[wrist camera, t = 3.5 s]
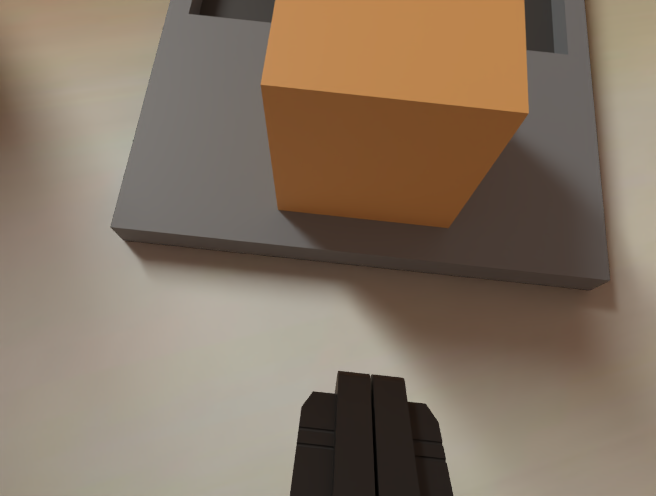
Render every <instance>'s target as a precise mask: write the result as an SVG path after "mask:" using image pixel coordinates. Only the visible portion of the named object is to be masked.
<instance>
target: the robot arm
mask: <svg viewBox="0 0 656 496" xmlns="http://www.w3.org/2000/svg"><path fill="white" fill-rule="evenodd" d="M445 460H446V458H445V453H444V448H443V446H442V438H441V433H440V428H439V423H438V421H437V419H436V418H435V417H434V415H433V414H432V412H431V411H430V409H429V408H428V407H427V405H426V404H423V403H414V402H407V395H406V387H405V381H404V378H400V377H391V376H382V375H373V374H372V375H371V378H370V375H369V374H362V373H353V372H344V371H338V374H337V381H336V388H335V394H332V393H323V392H314V391H313V392H312V394H311V395H310V396H309V398H308V399H307V400H306V402H305V403H304V404H303V406H302V408H301V416H300V423H299V431H298V438H297V446H296V454H295V461H294V469H293V476H292V484H291V491H290V496H453V492H452V487H451V482H450V477H449V472H448V467H447V463H446V462H445Z"/></svg>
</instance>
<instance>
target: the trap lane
mask: <svg viewBox="0 0 656 496" xmlns="http://www.w3.org/2000/svg"><path fill="white" fill-rule="evenodd" d="M274 5H275V0H170V4H169V8H168V12H167V15H166V19H165V23H164V27H163V30H162V34H161V38H160V42H159V45H158V49H157V53H156V57H155V61H154V64H153V68H152V72H151V76H150V79H149V83H148V87H147V91H146V94H145V98H144V102H143V106H142V110H141V113H140V117H139V121H138V125H137V128H136V132H135V136H134V140H133V144H132V147H131V151H130V155H129V159H128V162H127V166H126V170H125V174H124V177H123V181H122V185H121V189H120V193H119V196H118V200H117V204H116V208H115V211H114V215H113V219H112V223H111V226H110V227H111V228H112V229H113V230H114V231H115V232H116V233H117V234H118V235H119V236H120V237H121V238H122V239H123V240H126V241H135V242H145V243H154V244H163V245H173V246H182V247H192V248H201V249H210V250H220V251H229V252H238V253H248V254H257V255H267V256H276V257H285V258H295V259H304V260H313V261H323V262H332V263H342V264H351V265H360V266H370V267H379V268H388V269H398V270H407V271H417V272H426V273H435V274H445V275H454V276H463V277H473V278H482V279H491V280H501V281H510V282H520V283H529V284H538V285H548V286H557V287H566V288H576V289H585V290H591V289H594V288H596V287H598V286H600V285H602V284H604V283H606V282H608V281H610V274H609V263H608V252H607V241H606V230H605V219H604V209H603V198H602V187H601V176H600V165H599V154H598V143H597V133H596V122H595V111H594V100H593V89H592V78H591V67H590V57H589V46H588V35H587V24H586V13H585V2H584V0H524V5H525V30H526V55H527V80H528V104H529V114H528V115H527V117H526V118H525V120H524V121H523V122H522V124H521V125H520V127H519V128H518V130H517V131H516V132H515V134H514V135H513V137H512V138H511V140H510V141H509V142H508V144H507V145H506V147H505V148H504V150H503V151H502V152H501V154H500V155H499V157H498V158H497V160H496V161H495V162H494V164H493V165H492V167H491V168H490V170H489V171H488V172H487V174H486V175H485V177H484V178H483V180H482V181H481V182H480V184H479V185H478V187H477V188H476V190H475V191H474V192H473V194H472V195H471V197H470V198H469V200H468V201H467V202H466V204H465V205H464V207H463V208H462V210H461V211H460V212H459V214H458V215H457V217H456V218H455V220H454V221H453V223H452V224H451V225H450V227H449V228H442V227H433V226H424V225H414V224H405V223H396V222H386V221H377V220H368V219H358V218H349V217H339V216H330V215H321V214H311V213H302V212H293V211H283V210H278V207H277V200H276V192H275V185H274V178H273V171H272V164H271V156H270V149H269V142H268V135H267V128H266V120H265V113H264V106H263V99H262V92H261V79H262V73H263V68H264V62H265V56H266V50H267V45H268V39H269V33H270V28H271V22H272V16H273V10H274Z"/></svg>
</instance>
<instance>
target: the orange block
mask: <svg viewBox="0 0 656 496" xmlns="http://www.w3.org/2000/svg"><path fill="white" fill-rule="evenodd" d="M261 92H262V99H263V106H264V113H265V120H266V128H267V135H268V142H269V149H270V156H271V164H272V171H273V178H274V185H275V192H276V200H277V207H278V210H283V211H293V212H302V213H311V214H321V215H330V216H339V217H349V218H358V219H368V220H377V221H386V222H396V223H405V224H414V225H424V226H433V227H442V228H449V227H450V225H451V224H452V223H453V221H454V220H455V218H456V217H457V215H458V214H459V212H460V211H461V210H462V208H463V207H464V205H465V204H466V202H467V201H468V200H469V198H470V197H471V195H472V194H473V192H474V191H475V190H476V188H477V187H478V185H479V184H480V182H481V181H482V180H483V178H484V177H485V175H486V174H487V172H488V171H489V170H490V168H491V167H492V165H493V164H494V162H495V161H496V160H497V158H498V157H499V155H500V154H501V152H502V151H503V150H504V148H505V147H506V145H507V144H508V142H509V141H510V140H511V138H512V137H513V135H514V134H515V132H516V131H517V130H518V128H519V127H520V125H521V124H522V122H523V121H524V120H525V118H526V117H527V115H528V114H529V104H528V80H527V55H526V30H525V5H524V0H275V5H274V10H273V16H272V22H271V28H270V33H269V39H268V45H267V50H266V56H265V62H264V68H263V73H262V79H261Z"/></svg>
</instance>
